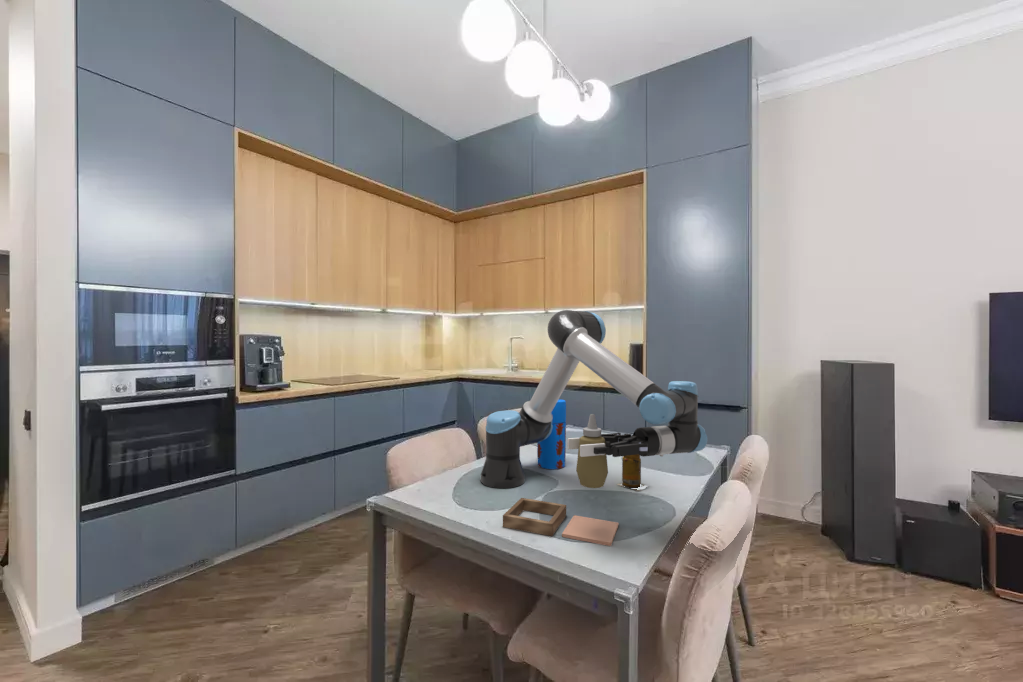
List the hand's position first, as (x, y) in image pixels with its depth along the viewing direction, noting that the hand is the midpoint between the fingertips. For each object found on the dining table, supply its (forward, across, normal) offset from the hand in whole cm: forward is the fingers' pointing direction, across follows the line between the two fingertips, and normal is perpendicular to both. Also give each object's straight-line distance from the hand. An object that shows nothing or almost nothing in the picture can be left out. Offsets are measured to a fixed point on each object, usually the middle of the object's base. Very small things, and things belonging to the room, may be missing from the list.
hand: (574, 447), depth 107 cm
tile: (-5, 0, -22) cm, 22 cm away
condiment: (-35, +26, -22) cm, 49 cm away
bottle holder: (+7, +10, -22) cm, 25 cm away
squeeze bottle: (-5, 0, -10) cm, 11 cm away
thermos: (-17, +55, -22) cm, 62 cm away
